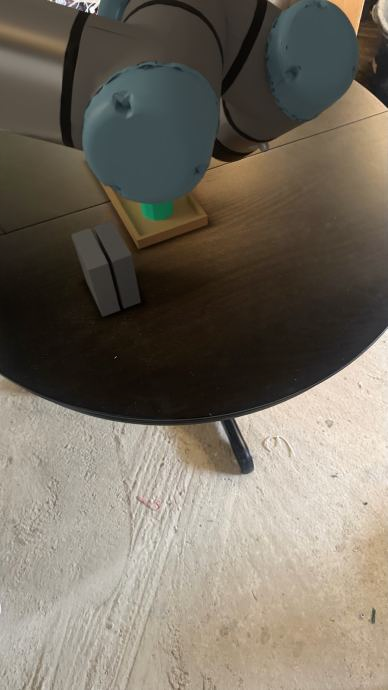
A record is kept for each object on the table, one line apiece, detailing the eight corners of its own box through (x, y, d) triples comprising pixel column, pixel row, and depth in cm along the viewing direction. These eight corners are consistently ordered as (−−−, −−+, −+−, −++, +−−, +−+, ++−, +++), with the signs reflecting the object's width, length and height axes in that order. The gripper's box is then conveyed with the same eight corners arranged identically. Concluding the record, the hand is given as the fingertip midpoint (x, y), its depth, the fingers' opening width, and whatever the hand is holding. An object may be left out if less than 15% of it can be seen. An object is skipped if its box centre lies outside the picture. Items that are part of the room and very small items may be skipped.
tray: (88, 162, 97) (86, 153, 95) (149, 143, 100) (148, 134, 98) (138, 249, 83) (137, 240, 82) (207, 224, 86) (207, 215, 85)
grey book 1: (86, 282, 80) (70, 234, 70) (103, 276, 80) (90, 227, 71) (102, 317, 75) (88, 270, 66) (120, 310, 76) (108, 263, 67)
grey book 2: (106, 275, 80) (93, 226, 71) (123, 269, 81) (112, 220, 72) (123, 309, 76) (112, 261, 67) (141, 302, 77) (131, 254, 68)
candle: (176, 200, 89) (172, 142, 79) (170, 222, 86) (165, 165, 76) (145, 197, 90) (137, 140, 80) (138, 219, 87) (129, 162, 77)
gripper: (144, 192, 47) (111, 219, 67) (345, 117, 53) (260, 162, 73) (114, 115, 45) (89, 166, 65) (326, 47, 51) (244, 112, 71)
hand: (179, 164), depth 69 cm, fingers open, 13 cm apart
